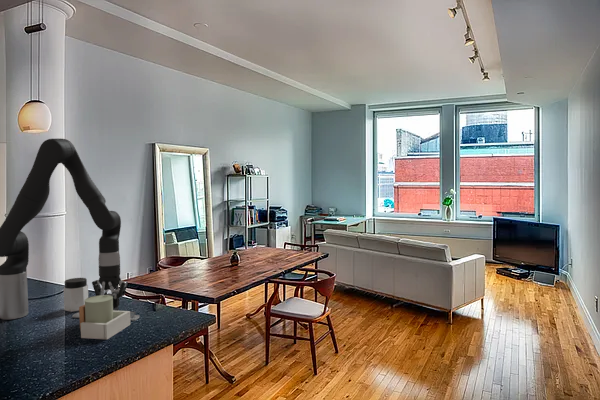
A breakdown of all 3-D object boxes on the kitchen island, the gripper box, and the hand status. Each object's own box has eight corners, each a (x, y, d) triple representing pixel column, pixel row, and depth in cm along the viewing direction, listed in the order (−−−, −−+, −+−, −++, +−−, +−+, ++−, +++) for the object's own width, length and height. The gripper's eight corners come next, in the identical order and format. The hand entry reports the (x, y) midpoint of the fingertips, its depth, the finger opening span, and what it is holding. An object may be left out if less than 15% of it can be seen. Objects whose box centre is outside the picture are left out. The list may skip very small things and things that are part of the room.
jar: (65, 313, 170) (64, 283, 170) (63, 307, 177) (62, 279, 176) (90, 309, 175) (89, 280, 174) (87, 304, 182) (86, 276, 181)
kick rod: (79, 329, 149) (78, 307, 149) (109, 313, 167) (108, 293, 166) (111, 331, 147) (110, 308, 147) (137, 314, 165) (137, 294, 164)
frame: (81, 337, 144) (80, 323, 144) (106, 323, 158) (106, 310, 158) (107, 339, 142) (106, 324, 142) (130, 324, 157) (130, 311, 156)
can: (119, 327, 153) (118, 295, 153) (99, 337, 145) (98, 302, 144) (100, 324, 156) (99, 292, 156) (79, 333, 148) (77, 299, 147)
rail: (72, 317, 165) (72, 315, 165) (78, 314, 168) (77, 312, 168) (135, 320, 161) (135, 318, 161) (139, 317, 164) (139, 315, 164)
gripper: (86, 264, 160) (87, 309, 161) (121, 265, 158) (122, 311, 159) (98, 260, 168) (99, 303, 169) (132, 261, 166) (132, 305, 167)
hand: (110, 307), depth 164 cm, fingers closed on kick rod, 4 cm apart
